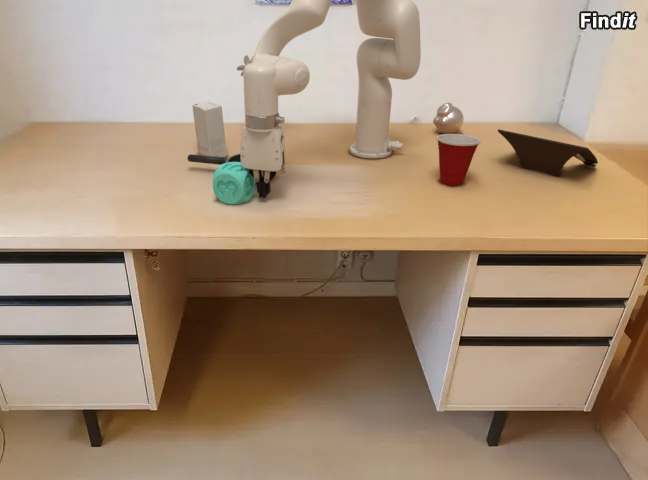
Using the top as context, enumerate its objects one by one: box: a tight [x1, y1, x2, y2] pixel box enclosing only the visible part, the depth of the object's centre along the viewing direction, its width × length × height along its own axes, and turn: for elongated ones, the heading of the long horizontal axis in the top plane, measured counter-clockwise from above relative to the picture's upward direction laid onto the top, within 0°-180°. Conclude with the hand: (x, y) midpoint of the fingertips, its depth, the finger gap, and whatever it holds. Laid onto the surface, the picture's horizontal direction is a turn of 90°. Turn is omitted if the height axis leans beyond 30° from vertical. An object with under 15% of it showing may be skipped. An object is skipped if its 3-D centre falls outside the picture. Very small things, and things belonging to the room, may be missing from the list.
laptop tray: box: [497, 128, 599, 177], centre depth 151 cm, size 23×23×9 cm
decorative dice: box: [212, 162, 256, 205], centre depth 135 cm, size 8×8×8 cm
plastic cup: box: [435, 133, 482, 187], centre depth 142 cm, size 11×11×12 cm
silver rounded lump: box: [432, 102, 464, 135], centre depth 177 cm, size 9×10×10 cm
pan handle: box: [186, 154, 228, 166], centre depth 150 cm, size 12×2×2 cm, turn 74°
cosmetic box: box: [191, 100, 228, 158], centre depth 160 cm, size 8×6×15 cm
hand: (263, 195), depth 135 cm, fingers closed
